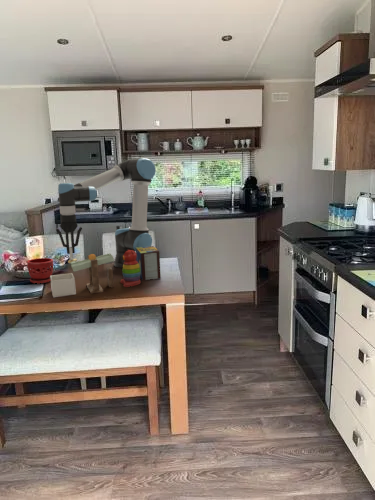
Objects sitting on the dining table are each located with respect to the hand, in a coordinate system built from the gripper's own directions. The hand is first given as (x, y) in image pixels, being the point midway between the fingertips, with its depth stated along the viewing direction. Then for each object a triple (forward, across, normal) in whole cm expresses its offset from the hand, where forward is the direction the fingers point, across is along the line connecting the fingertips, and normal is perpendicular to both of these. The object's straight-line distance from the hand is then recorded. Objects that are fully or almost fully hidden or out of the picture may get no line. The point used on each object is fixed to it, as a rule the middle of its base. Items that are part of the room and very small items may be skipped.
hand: (71, 259), depth 196 cm
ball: (-3, -9, +12) cm, 15 cm away
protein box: (+13, -40, +3) cm, 42 cm away
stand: (+13, -12, +12) cm, 22 cm away
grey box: (+14, +6, +12) cm, 19 cm away
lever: (+2, -9, +7) cm, 12 cm away
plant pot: (+14, +15, -14) cm, 25 cm away
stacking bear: (+13, -28, +12) cm, 33 cm away
